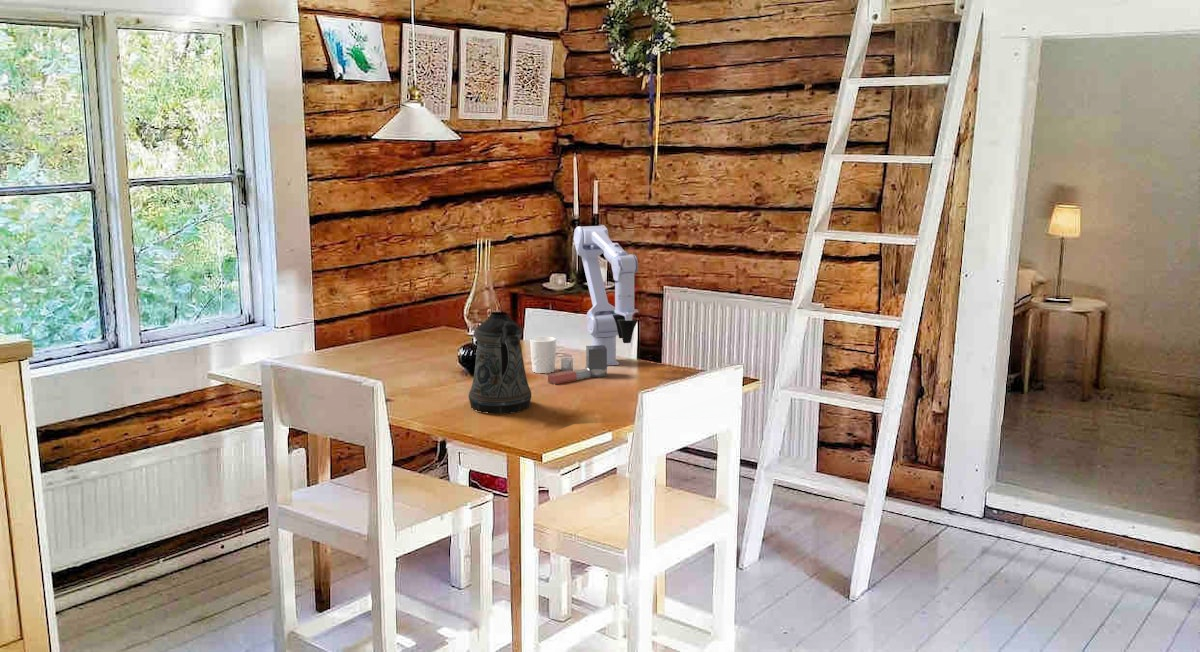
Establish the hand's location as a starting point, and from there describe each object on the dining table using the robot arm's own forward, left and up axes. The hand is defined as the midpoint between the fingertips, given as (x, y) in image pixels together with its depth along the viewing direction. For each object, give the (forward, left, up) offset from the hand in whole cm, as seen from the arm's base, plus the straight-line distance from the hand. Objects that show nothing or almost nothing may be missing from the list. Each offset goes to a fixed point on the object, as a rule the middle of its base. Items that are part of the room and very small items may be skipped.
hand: (624, 340), depth 299 cm
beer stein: (+34, -38, -10) cm, 52 cm away
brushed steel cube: (+2, -9, -7) cm, 12 cm away
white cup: (-6, -24, -10) cm, 27 cm away
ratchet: (+5, -15, -10) cm, 19 cm away
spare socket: (-4, -17, -10) cm, 20 cm away
